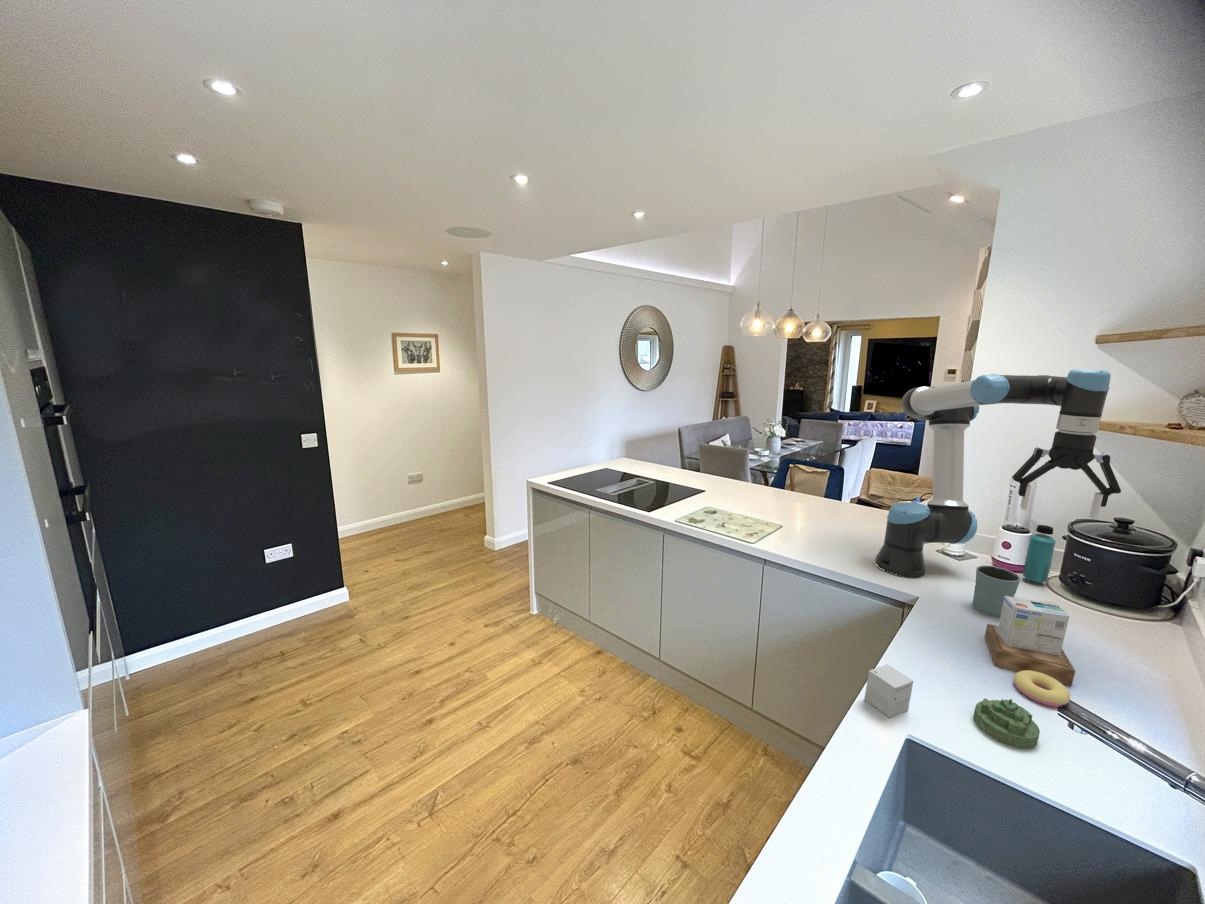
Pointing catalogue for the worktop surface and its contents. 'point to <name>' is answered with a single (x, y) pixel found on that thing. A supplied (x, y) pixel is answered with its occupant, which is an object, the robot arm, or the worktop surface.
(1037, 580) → the beverage bottle
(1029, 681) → the donut
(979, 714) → the decorative artifact
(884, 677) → the grey cube-like block
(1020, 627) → the light bulb box
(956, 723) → the worktop surface
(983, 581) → the green plant pot
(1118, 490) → the robot arm
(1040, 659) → the base
